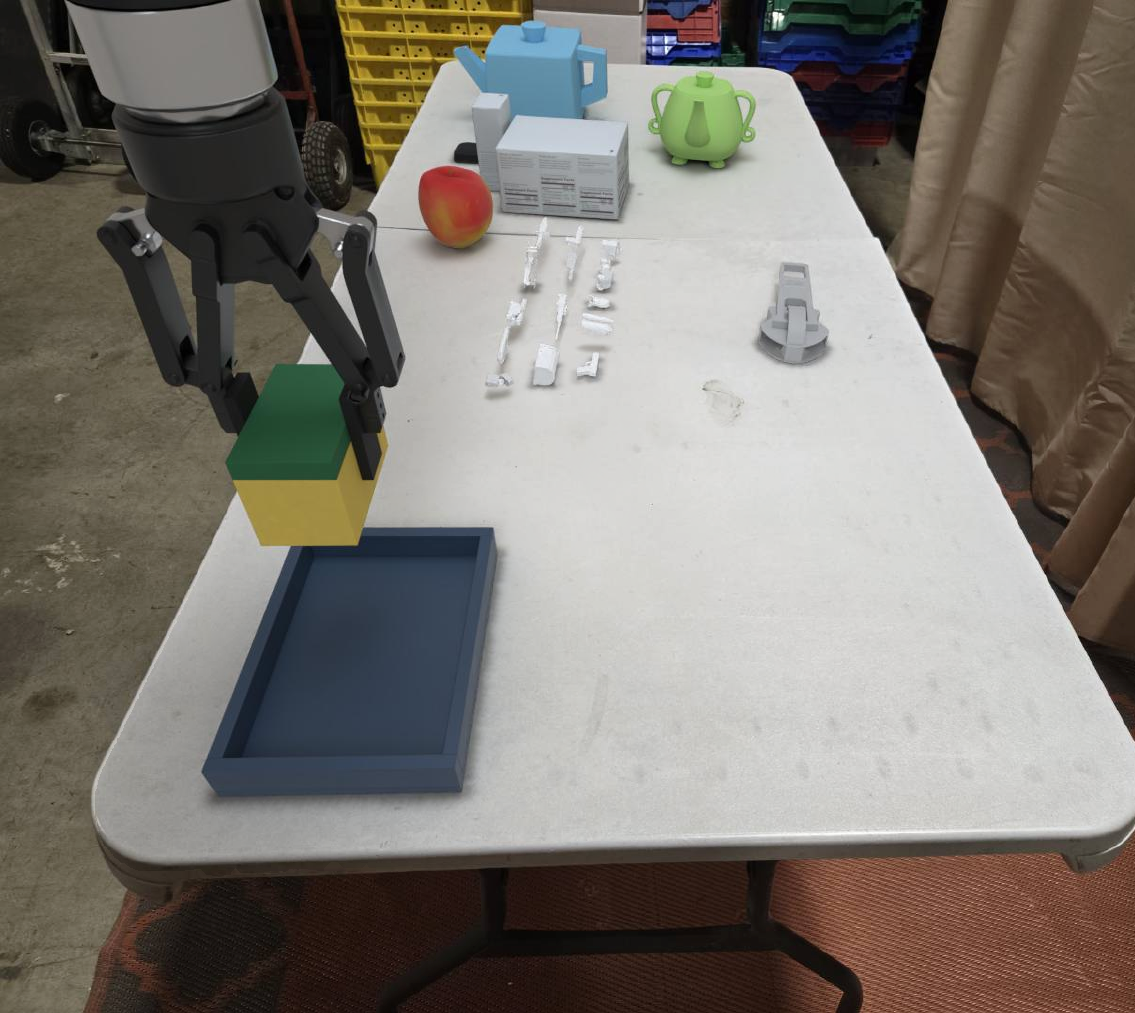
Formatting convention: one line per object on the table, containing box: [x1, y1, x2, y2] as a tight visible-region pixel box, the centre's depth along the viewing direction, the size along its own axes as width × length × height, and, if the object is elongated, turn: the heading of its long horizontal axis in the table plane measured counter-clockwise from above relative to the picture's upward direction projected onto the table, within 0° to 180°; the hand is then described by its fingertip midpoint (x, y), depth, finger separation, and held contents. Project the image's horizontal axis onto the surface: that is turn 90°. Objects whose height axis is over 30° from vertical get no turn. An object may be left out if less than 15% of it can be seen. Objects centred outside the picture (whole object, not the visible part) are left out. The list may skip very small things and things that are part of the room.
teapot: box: [647, 70, 757, 169], centre depth 133 cm, size 16×14×13 cm
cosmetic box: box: [471, 92, 511, 192], centre depth 123 cm, size 6×4×12 cm
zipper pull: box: [757, 261, 830, 365], centre depth 101 cm, size 8×18×4 cm, turn 175°
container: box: [452, 20, 609, 122], centre depth 141 cm, size 17×25×15 cm
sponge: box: [224, 363, 389, 547], centre depth 55 cm, size 10×6×7 cm, turn 3°
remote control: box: [453, 141, 479, 164], centre depth 133 cm, size 5×2×15 cm
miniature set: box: [485, 217, 623, 389], centre depth 100 cm, size 6×35×12 cm
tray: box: [200, 526, 498, 798], centre depth 63 cm, size 22×16×3 cm
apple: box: [417, 165, 494, 249], centre depth 110 cm, size 10×10×10 cm
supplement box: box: [495, 115, 630, 220], centre depth 121 cm, size 17×13×9 cm
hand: (320, 466), depth 55 cm, fingers closed on sponge, 6 cm apart
